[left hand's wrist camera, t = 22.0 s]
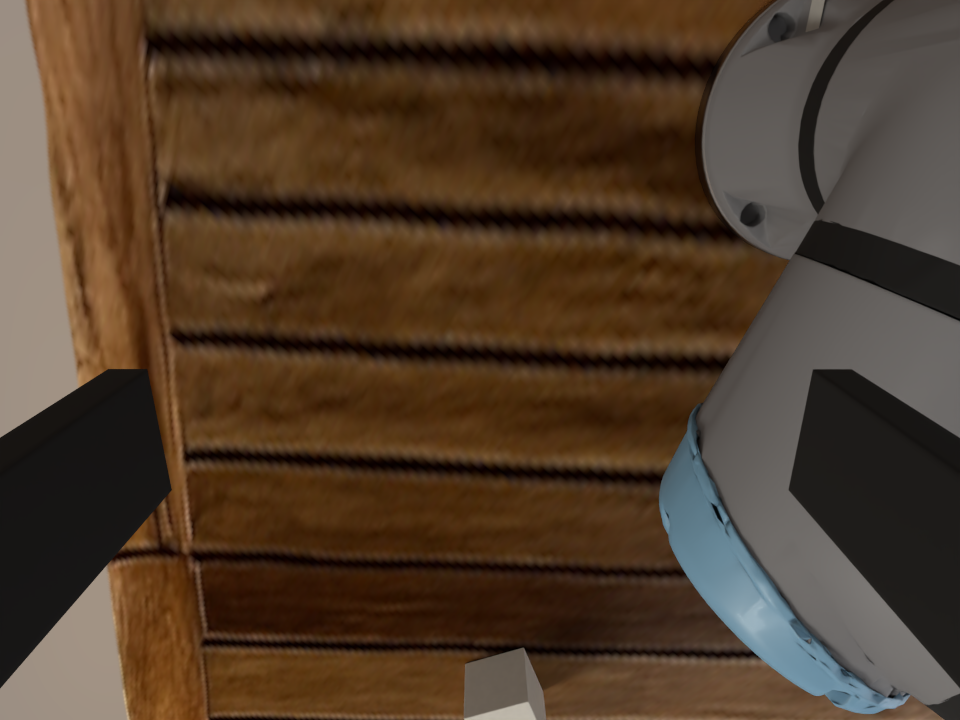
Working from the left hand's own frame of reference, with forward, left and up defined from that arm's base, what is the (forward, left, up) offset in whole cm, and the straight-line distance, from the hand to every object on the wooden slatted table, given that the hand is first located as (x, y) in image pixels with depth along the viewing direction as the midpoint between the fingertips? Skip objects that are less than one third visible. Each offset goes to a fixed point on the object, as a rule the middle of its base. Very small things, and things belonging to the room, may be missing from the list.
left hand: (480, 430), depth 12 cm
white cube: (-2, +36, -27) cm, 45 cm away
